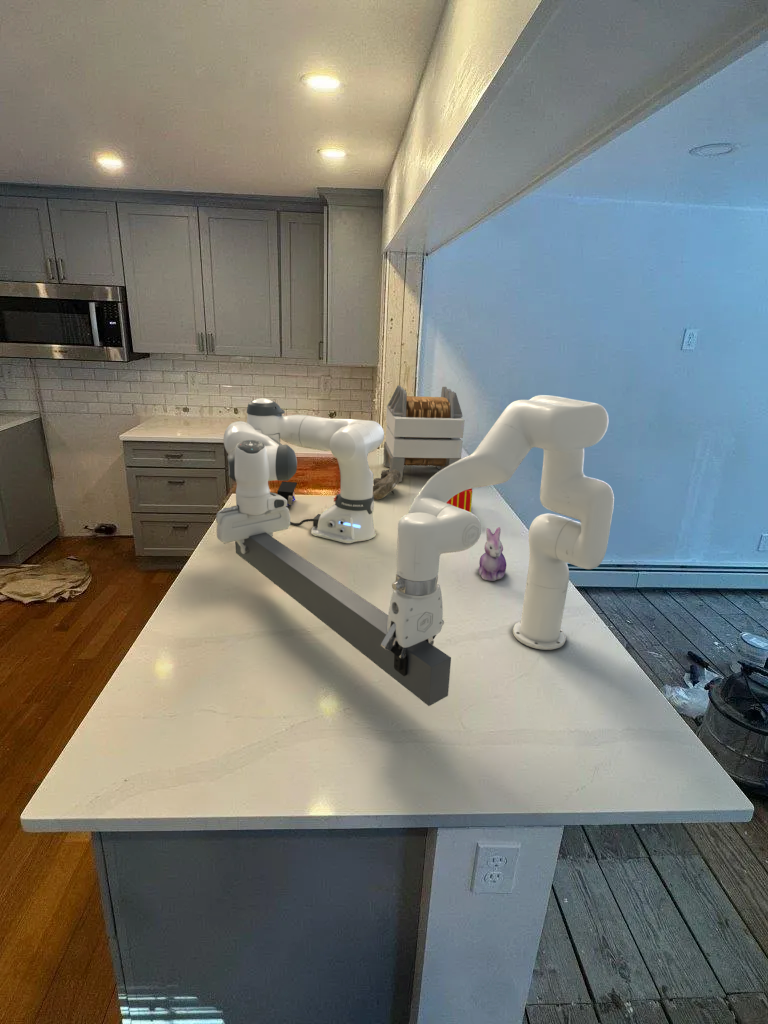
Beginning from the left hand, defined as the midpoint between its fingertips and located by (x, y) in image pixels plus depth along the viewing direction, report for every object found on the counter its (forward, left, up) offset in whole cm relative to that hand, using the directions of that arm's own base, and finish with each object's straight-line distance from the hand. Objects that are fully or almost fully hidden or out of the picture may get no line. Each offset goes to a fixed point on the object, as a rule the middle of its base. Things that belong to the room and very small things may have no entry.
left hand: (255, 550), depth 155 cm
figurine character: (-22, +66, -11) cm, 70 cm away
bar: (+27, -19, -3) cm, 33 cm away
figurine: (+62, +31, -11) cm, 70 cm away
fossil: (+10, +95, -11) cm, 96 cm away
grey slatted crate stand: (+17, +132, -11) cm, 134 cm away
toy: (+41, +84, -11) cm, 94 cm away
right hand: (+53, -38, 0) cm, 65 cm away
